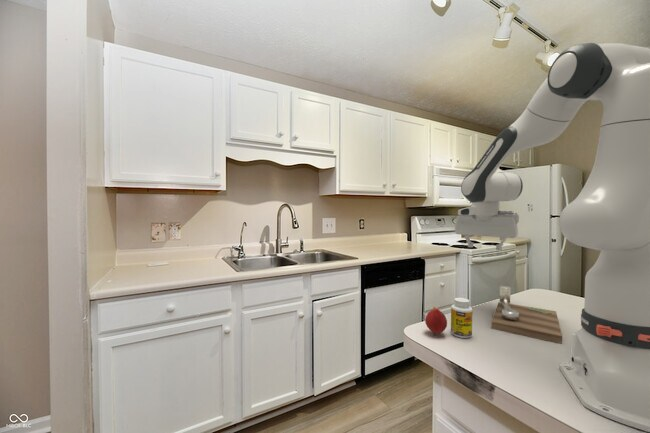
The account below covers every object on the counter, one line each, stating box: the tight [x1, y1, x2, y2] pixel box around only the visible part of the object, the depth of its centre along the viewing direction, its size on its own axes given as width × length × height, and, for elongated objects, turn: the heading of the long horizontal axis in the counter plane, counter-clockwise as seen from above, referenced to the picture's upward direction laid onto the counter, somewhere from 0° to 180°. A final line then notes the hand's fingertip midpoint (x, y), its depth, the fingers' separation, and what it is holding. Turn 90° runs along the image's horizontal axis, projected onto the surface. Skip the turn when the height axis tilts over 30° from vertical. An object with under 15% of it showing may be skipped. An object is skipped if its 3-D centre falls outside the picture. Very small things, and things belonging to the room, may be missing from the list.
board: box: [490, 301, 563, 344], centre depth 91 cm, size 23×16×2 cm
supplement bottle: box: [450, 297, 474, 339], centre depth 82 cm, size 6×6×10 cm
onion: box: [424, 306, 448, 335], centre depth 82 cm, size 6×6×8 cm
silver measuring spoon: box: [499, 285, 519, 320], centre depth 94 cm, size 17×4×6 cm, turn 154°
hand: (484, 248), depth 104 cm, fingers open, 8 cm apart
